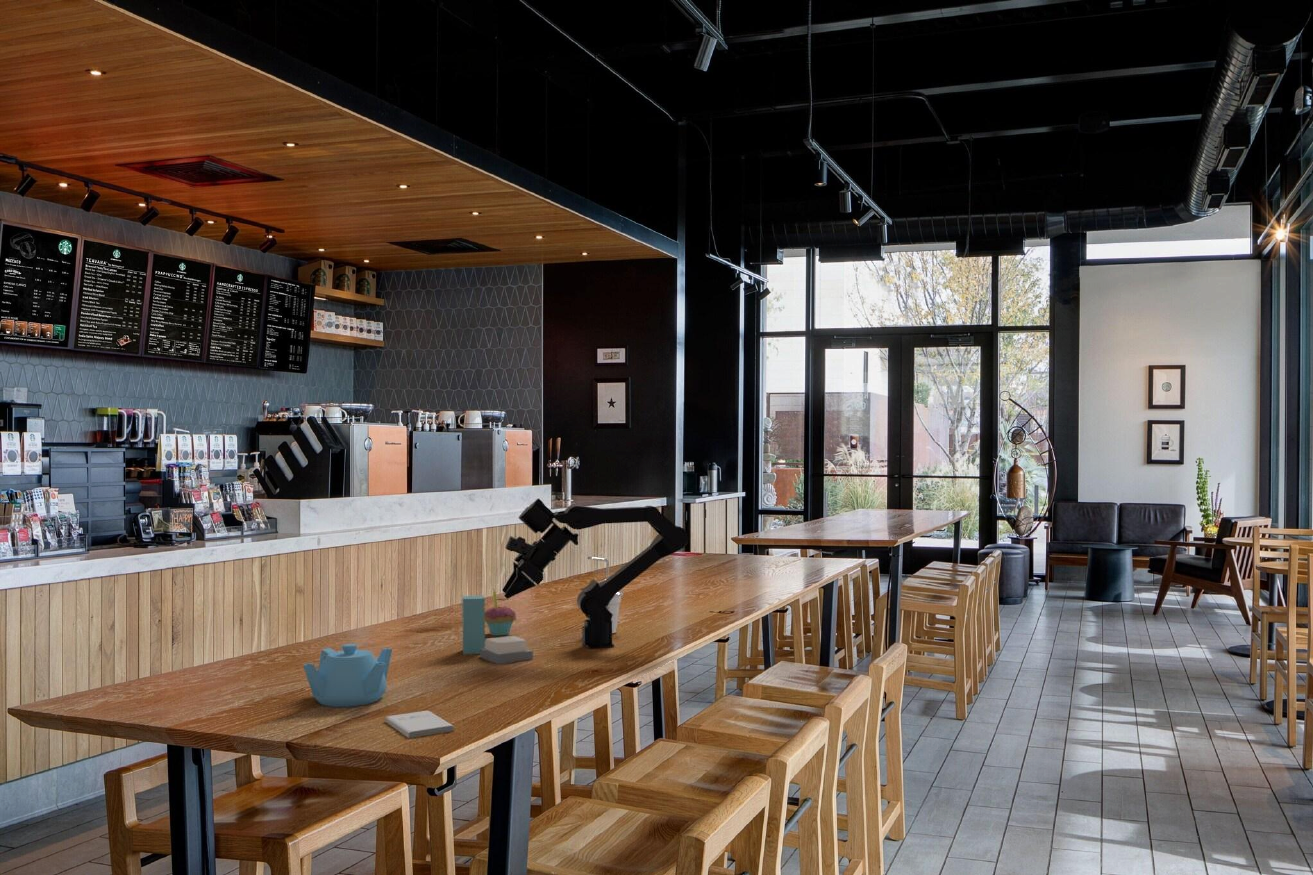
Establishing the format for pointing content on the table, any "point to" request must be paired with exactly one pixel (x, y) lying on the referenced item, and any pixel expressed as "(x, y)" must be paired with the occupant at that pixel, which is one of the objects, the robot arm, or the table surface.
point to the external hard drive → (419, 724)
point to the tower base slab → (506, 656)
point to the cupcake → (499, 619)
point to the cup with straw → (615, 601)
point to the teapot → (348, 676)
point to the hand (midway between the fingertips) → (504, 594)
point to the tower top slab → (505, 645)
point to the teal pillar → (473, 624)
